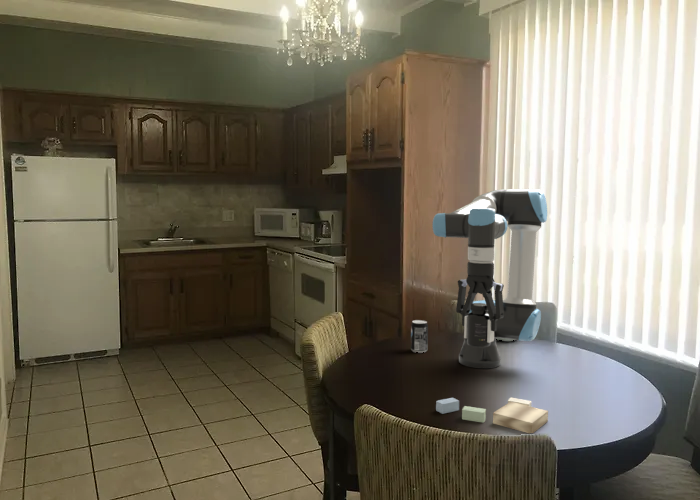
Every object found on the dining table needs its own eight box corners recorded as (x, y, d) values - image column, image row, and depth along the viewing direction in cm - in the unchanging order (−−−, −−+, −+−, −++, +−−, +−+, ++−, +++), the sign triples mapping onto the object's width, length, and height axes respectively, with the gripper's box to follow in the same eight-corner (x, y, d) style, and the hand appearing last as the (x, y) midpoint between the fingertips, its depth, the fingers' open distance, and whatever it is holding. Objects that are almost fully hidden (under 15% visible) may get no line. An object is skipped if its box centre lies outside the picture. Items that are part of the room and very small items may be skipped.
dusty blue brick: (442, 414, 164) (442, 404, 163) (436, 410, 166) (436, 400, 166) (459, 410, 166) (459, 400, 166) (452, 407, 169) (452, 397, 169)
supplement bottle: (464, 341, 171) (464, 302, 170) (486, 341, 171) (487, 301, 170) (470, 347, 164) (471, 306, 163) (493, 347, 165) (494, 306, 164)
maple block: (492, 423, 157) (493, 412, 156) (510, 411, 165) (510, 401, 165) (531, 434, 150) (532, 423, 149) (547, 421, 158) (548, 410, 158)
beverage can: (415, 348, 234) (416, 319, 233) (430, 350, 230) (430, 321, 229) (407, 351, 228) (408, 322, 227) (422, 354, 225) (422, 324, 223)
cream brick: (507, 410, 167) (507, 400, 166) (510, 407, 169) (510, 397, 169) (528, 414, 164) (528, 404, 163) (531, 411, 166) (531, 401, 166)
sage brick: (462, 419, 160) (462, 409, 159) (464, 416, 162) (464, 405, 162) (483, 423, 157) (484, 412, 157) (485, 419, 160) (485, 409, 160)
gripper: (444, 260, 169) (443, 336, 171) (506, 265, 156) (504, 347, 158) (457, 258, 175) (455, 331, 177) (518, 263, 162) (516, 342, 164)
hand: (478, 339), depth 168 cm, fingers closed on supplement bottle, 7 cm apart
